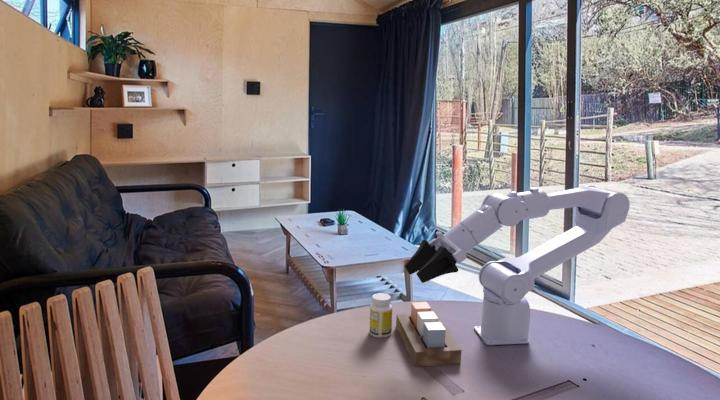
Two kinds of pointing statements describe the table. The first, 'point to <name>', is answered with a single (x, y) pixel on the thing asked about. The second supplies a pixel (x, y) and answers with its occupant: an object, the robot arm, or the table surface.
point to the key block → (420, 350)
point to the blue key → (434, 334)
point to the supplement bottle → (381, 315)
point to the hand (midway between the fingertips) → (412, 274)
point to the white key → (425, 320)
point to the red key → (418, 310)
